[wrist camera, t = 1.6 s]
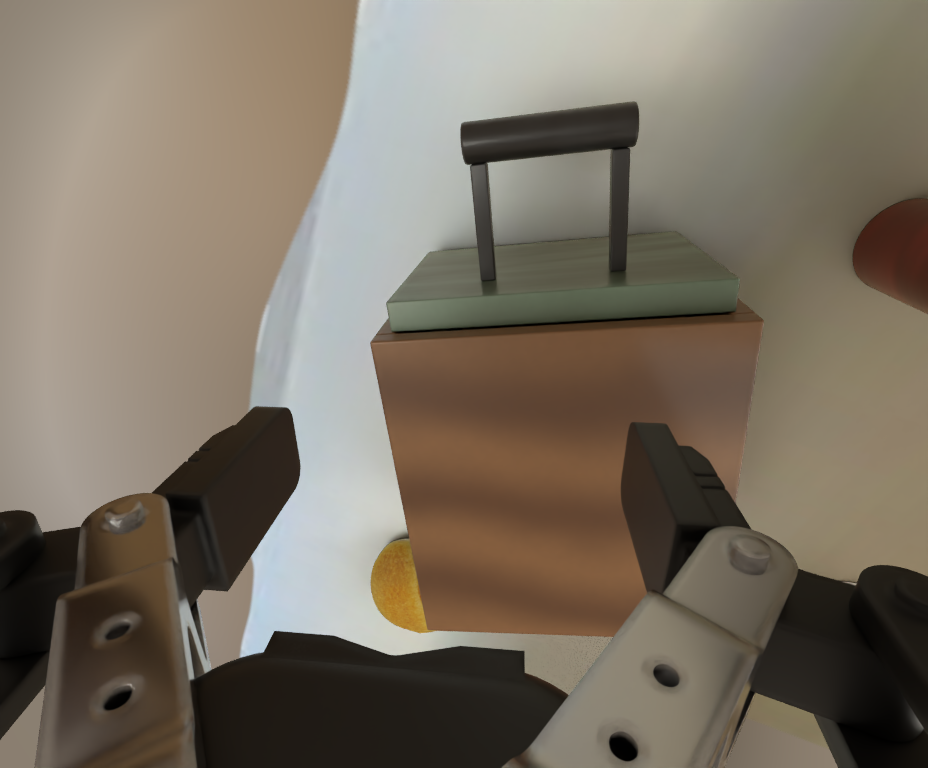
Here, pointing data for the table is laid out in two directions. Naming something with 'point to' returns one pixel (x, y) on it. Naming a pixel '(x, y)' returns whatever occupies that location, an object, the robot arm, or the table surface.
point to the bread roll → (398, 587)
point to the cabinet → (549, 456)
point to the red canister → (896, 253)
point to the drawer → (559, 245)
